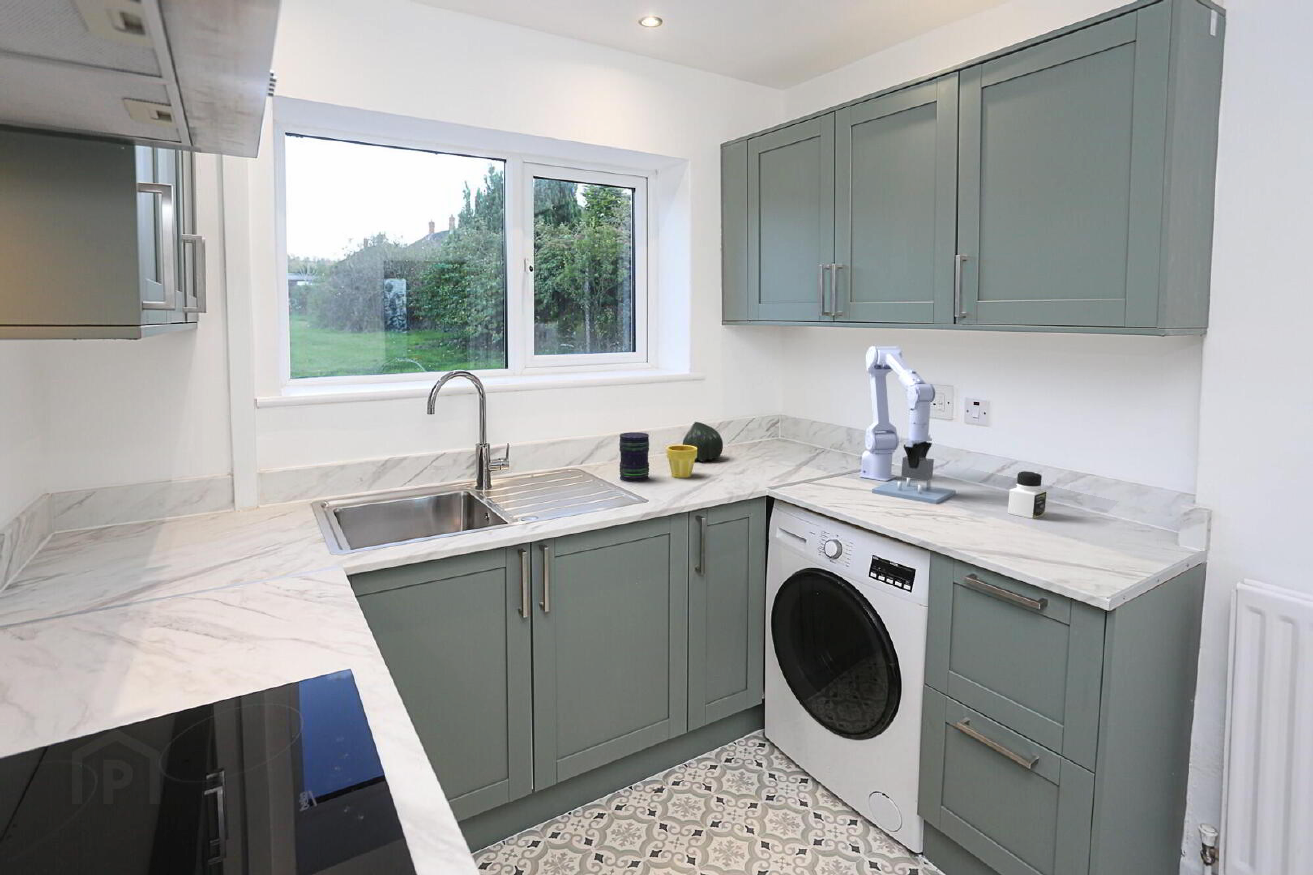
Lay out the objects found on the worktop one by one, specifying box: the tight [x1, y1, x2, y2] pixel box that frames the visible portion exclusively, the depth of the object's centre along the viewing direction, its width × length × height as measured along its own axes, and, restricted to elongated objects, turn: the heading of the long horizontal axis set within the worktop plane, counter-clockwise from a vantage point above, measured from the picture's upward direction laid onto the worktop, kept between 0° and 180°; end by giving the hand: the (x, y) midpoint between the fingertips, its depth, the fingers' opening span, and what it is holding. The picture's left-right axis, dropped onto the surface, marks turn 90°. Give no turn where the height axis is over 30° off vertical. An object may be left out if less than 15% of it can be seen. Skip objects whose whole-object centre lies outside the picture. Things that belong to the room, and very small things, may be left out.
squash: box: [682, 421, 724, 462], centre depth 282 cm, size 14×15×15 cm
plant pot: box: [666, 444, 697, 479], centre depth 256 cm, size 10×10×10 cm
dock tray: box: [871, 477, 957, 505], centre depth 233 cm, size 20×16×4 cm
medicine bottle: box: [1007, 470, 1047, 520], centre depth 210 cm, size 7×7×12 cm
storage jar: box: [619, 432, 650, 483], centre depth 250 cm, size 10×10×15 cm
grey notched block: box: [900, 455, 935, 482], centre depth 232 cm, size 8×4×6 cm, turn 50°
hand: (916, 466), depth 233 cm, fingers closed on grey notched block, 4 cm apart
